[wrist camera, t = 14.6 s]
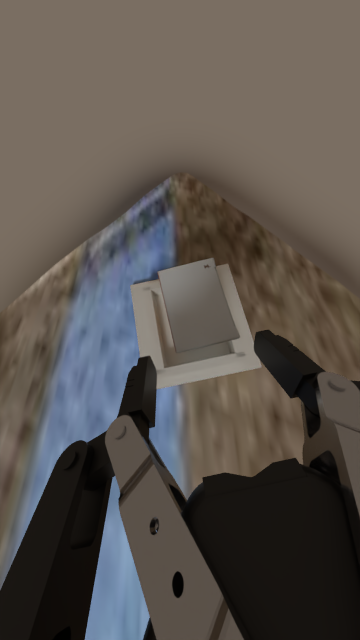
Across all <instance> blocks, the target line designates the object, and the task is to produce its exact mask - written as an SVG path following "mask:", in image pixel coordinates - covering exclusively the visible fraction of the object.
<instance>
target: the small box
mask: <svg viewBox="0 0 360 640" xmlns="http://www.w3.org/2000/svg"><path fill="white" fill-rule="evenodd" d="M157 273H158V277H159V282H160V286H161V290H162V295H163V299H164V304H165V308H166V312H167V317H168V321H169V325H170V329H171V334H172V338H173V343H174V347H175V351H176V353H181V352H185V351H190V350H194V349H199V348H203V347H207V346H211V345H215V344H219V343H223V342H227V341H231V340H236V339H239V338H240V335H239V333H238V330H237V328H236V325H235V323H234V320H233V317H232V314H231V311H230V308H229V306H228V303H227V300H226V297H225V294H224V291H223V288H222V285H221V282H220V279H219V275H218V272H217V269H216V265H215V261H214V258H209V259H205V260H201V261H197V262H193V263H189V264H185V265H181V266H177V267H173V268H169V269H165V270H162V271H158V272H157Z"/></svg>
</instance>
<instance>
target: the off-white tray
mask: <svg viewBox="0 0 360 640" xmlns="http://www.w3.org/2000/svg"><path fill="white" fill-rule="evenodd" d="M216 269H217V272H218V275H219V279H220V282H221V285H222V288H223V291H224V294H225V297H226V300H227V303H228V306H229V308H230V311H231V314H232V317H233V320H234V323H235V325H236V328H237V330H238V333H239V335H240V338H239V339H236V340H231V341H227V342H223V343H219V344H215V345H211V346H207V347H203V348H199V349H194V350H190V351H185V352H181V353H176V351H175V347H174V343H173V338H172V334H171V329H170V325H169V321H168V317H167V312H166V308H165V304H164V299H163V295H162V290H161V286H160V282H159V279H157V280H152V281H148V282H143V283H139V284H134V285H130V286H131V293H132V301H133V308H134V315H135V323H136V330H137V337H138V345H139V352H140V357H144V356H150V357H151V359H152V361H153V363H154V365H155V368H156V371H157V387H156V389H161V388H165V387H170V386H175V385H180V384H184V383H189V382H194V381H199V380H204V379H208V378H213V377H218V376H223V375H227V374H232V373H237V372H242V371H247V370H251V369H256V368H261V367H262V366H261V363H260V360H259V358H258V356H257V355H256V354H255V352H254V342H253V339H252V336H251V333H250V329H249V326H248V323H247V320H246V317H245V314H244V311H243V308H242V305H241V302H240V299H239V296H238V293H237V290H236V287H235V284H234V281H233V278H232V274H231V271H230V268H229V265H228V264H224V265H219V266H216Z"/></svg>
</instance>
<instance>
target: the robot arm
mask: <svg viewBox="0 0 360 640" xmlns="http://www.w3.org/2000/svg"><path fill="white" fill-rule="evenodd" d="M254 352H255V354H256V355H257V356H258V358H259V359H260V360H261V362H262V363H263V364H264V365H265V367H266V368H267V369H268V370H269V372H270V373H271V374H272V375H273V377H274V378H275V379H276V380H277V382H278V383H279V384H280V385H281V387H282V388H283V389H284V390H285V392H286V393H287V394H288V396H289V397H290V398H295V397H299V398H300V399H301V411H302V420H303V429H304V445H303V453H302V454H303V465H302V464H299V462H298V461H297V459H296V458H293V459H288V460H283V461H278V462H274V463H272V464H270V465H269V466H268V467H266V468H265V469H264V470H262V471H261V472H260V473H258V474H257V475H256V476H254V477H246V476H241V475H235V474H230V473H221V474H217V475H212V476H207V477H202V478H203V483H201V484H200V485H199V486H198V487H197V488H196V489H195V490H194V491H193V492H192V494H191V495H190V497H189V498H188V500H186V498H185V496H184V495H183V493H182V491H181V489H180V488H179V486H178V484H177V483H176V481H175V479H174V478H173V476H172V475H171V473H170V472H169V471H168V469H167V467H166V466H165V464H164V462H163V461H162V459H161V457H160V456H159V454H158V452H157V450H156V449H155V447H154V445H153V443H152V442H151V440H150V438H149V428H152V427H155V411H156V387H157V371H156V368H155V365H154V363H153V361H152V359H151V357H150V356H144V357H140V358H139V359H138V364H137V366H133V367H132V369H131V370H130V372H129V374H128V378H127V382H126V386H125V390H124V394H123V398H122V402H121V406H120V410H119V414H118V416H117V419H115V420H114V421H113V422H112V424H111V425H110V426H109V428H108V430H107V431H106V432H104V433H102V434H101V435H99V436H97V437H96V438H94V439H92V440H91V441H89V442H87V443H86V442H85V441H82V440H80V441H76V442H74V443H72V444H71V445H70V446H69V447H67V448H66V449H65V451H64V452H63V453H62V454H61V456H60V457H59V459H58V460H57V462H56V464H55V466H54V469H53V471H52V473H51V476H50V478H49V480H48V483H47V485H46V487H45V489H44V492H43V494H42V496H41V499H40V501H39V503H38V505H37V508H36V510H35V512H34V515H33V517H32V519H31V521H30V524H29V526H28V528H27V531H26V533H25V535H24V538H23V540H22V542H21V544H20V547H19V549H18V551H17V554H16V556H15V558H14V560H13V563H12V565H11V567H10V570H9V572H8V574H7V577H6V579H5V581H4V583H3V586H2V588H1V590H0V640H84V639H85V634H86V628H87V622H88V616H89V610H90V605H91V599H92V593H93V587H94V581H95V576H96V570H97V564H98V558H99V553H100V547H101V541H102V535H103V529H104V524H105V518H106V512H107V506H108V500H109V495H110V489H111V483H112V477H114V476H116V479H117V482H118V485H119V489H120V497H119V510H120V514H121V518H122V521H123V525H124V528H125V532H126V535H127V539H128V542H129V546H130V549H131V553H132V556H133V559H134V563H135V566H136V570H137V573H138V577H139V580H140V584H141V587H142V591H143V594H144V598H145V601H146V604H147V608H148V611H149V615H150V618H149V621H148V625H147V628H146V631H145V635H144V638H143V640H360V381H350V380H348V379H347V378H345V377H343V376H341V375H338V374H335V373H331V372H326V371H324V370H323V369H322V368H321V367H319V366H318V365H317V364H316V363H315V362H313V361H312V360H311V359H310V358H309V357H307V356H306V355H305V354H304V353H302V352H301V351H299V349H298V348H296V347H295V346H293V344H292V343H290V342H289V341H288V340H287V339H285V338H283V337H281V336H279V335H274V334H273V333H272V332H271V331H270V330H264V331H260V332H256V335H255V341H254ZM156 530H157V532H156Z"/></svg>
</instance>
